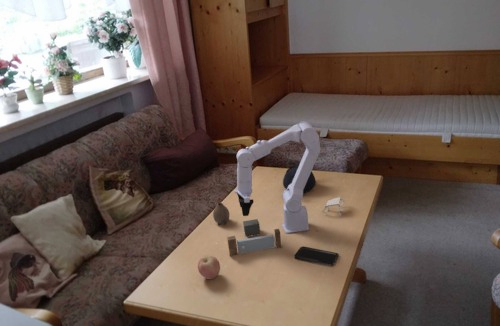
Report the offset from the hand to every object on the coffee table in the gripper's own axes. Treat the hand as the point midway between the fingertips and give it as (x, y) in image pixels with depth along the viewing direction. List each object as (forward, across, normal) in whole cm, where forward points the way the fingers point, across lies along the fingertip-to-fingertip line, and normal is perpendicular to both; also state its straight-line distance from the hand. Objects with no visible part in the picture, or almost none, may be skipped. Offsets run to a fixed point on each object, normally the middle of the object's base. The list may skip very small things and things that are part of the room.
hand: (244, 211), depth 183 cm
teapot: (+8, -34, +32) cm, 47 cm away
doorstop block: (+10, 0, +3) cm, 11 cm away
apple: (+12, +25, -16) cm, 32 cm away
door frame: (+10, +13, +2) cm, 17 cm away
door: (+10, +14, +3) cm, 17 cm away
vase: (+12, -13, -8) cm, 19 cm away
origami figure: (+7, -7, +41) cm, 42 cm away
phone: (+9, +24, +23) cm, 34 cm away
